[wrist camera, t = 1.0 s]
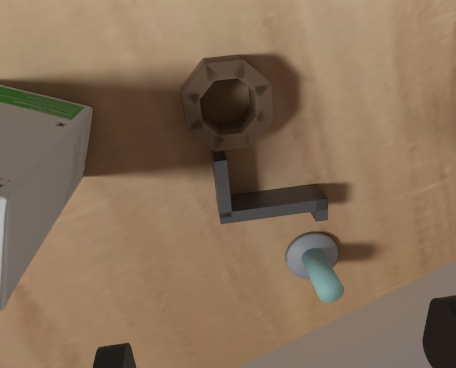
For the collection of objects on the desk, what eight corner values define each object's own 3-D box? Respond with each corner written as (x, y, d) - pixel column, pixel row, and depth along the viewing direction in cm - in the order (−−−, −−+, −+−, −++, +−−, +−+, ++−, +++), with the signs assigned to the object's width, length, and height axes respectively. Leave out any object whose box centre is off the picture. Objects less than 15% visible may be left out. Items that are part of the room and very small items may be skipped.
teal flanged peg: (285, 235, 37) (301, 272, 31) (336, 228, 37) (361, 263, 32) (286, 278, 39) (302, 318, 34) (335, 271, 39) (358, 310, 34)
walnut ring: (178, 61, 29) (177, 66, 26) (262, 52, 29) (270, 56, 27) (189, 142, 32) (190, 154, 29) (266, 132, 32) (274, 144, 29)
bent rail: (210, 148, 32) (213, 162, 29) (316, 135, 33) (329, 147, 30) (218, 216, 35) (222, 234, 32) (316, 203, 35) (327, 219, 33)
